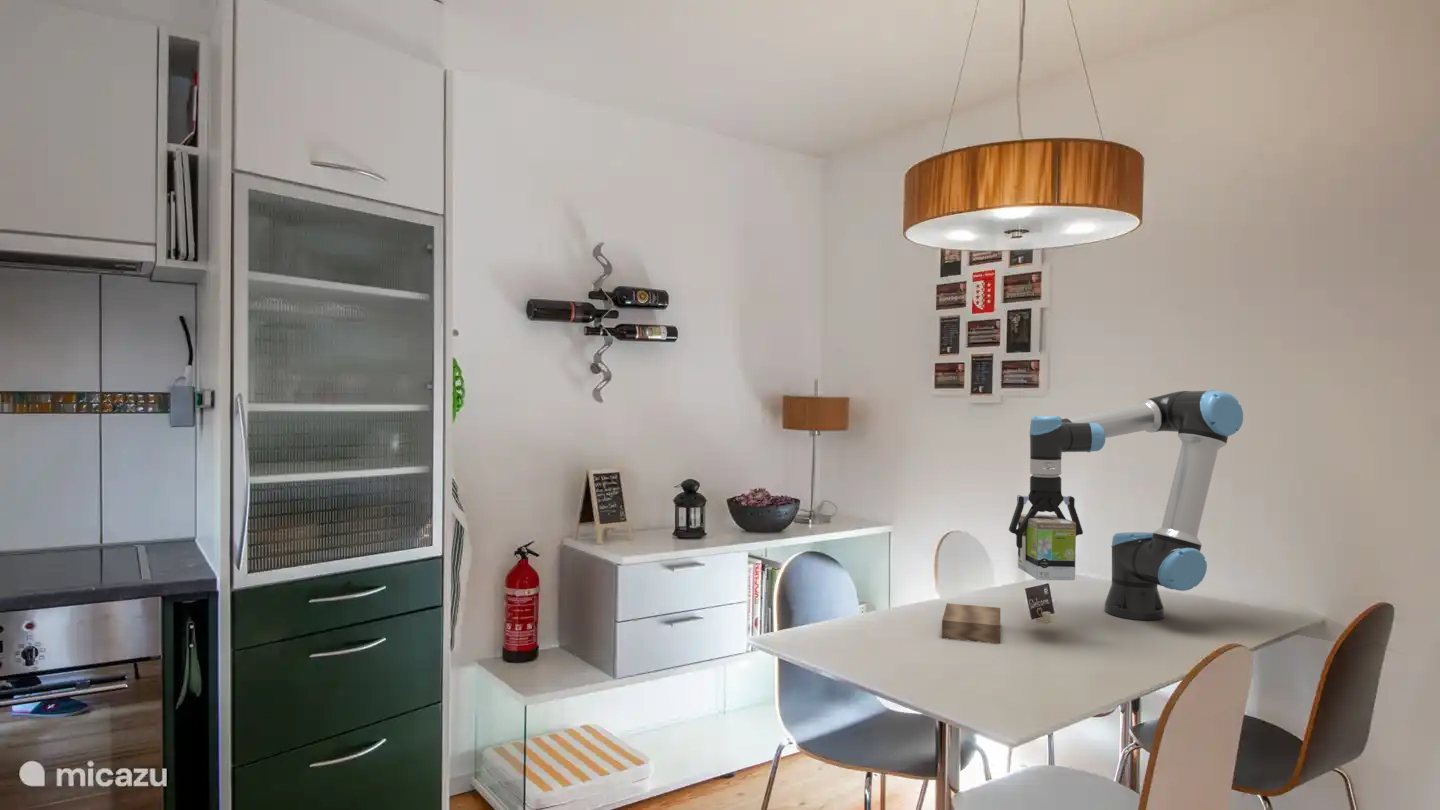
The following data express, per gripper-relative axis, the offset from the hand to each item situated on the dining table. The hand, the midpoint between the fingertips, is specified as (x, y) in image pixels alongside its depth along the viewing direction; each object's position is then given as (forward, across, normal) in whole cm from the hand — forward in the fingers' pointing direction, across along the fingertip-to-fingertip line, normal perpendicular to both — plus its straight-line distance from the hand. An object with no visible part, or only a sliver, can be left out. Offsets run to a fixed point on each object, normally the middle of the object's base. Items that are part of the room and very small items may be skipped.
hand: (1045, 561), depth 215 cm
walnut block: (+19, -18, 0) cm, 27 cm away
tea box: (+4, 0, 0) cm, 4 cm away
